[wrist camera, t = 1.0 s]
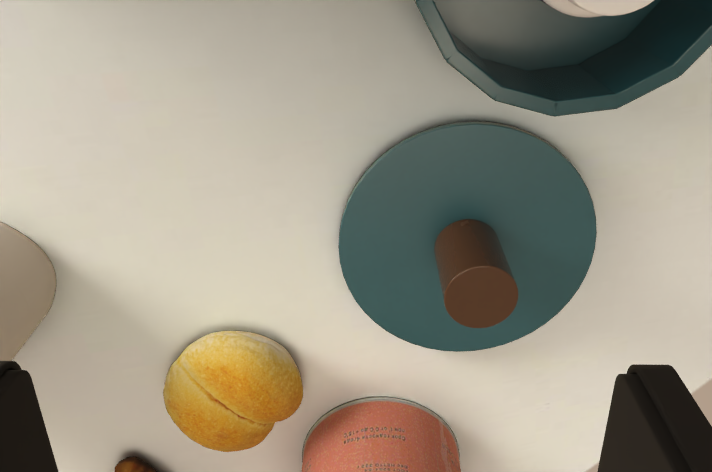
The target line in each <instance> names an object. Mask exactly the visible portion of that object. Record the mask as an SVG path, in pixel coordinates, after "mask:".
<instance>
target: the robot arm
mask: <svg viewBox="0 0 712 472" xmlns="http://www.w3.org/2000/svg"><path fill="white" fill-rule="evenodd" d="M0 472H58V469H57V466H56V462H55V459H54V455H53V452H52V448H51V445H50V441H49V438H48V434H47V431H46V427H45V424H44V420H43V417H42V413H41V410H40V407H39V403H38V400H37V396H36V393H35V389H34V386H33V382H32V379H31V376H30V374H29V373H28V372H27V371H26V370H21V368H20V366H19V365H18V364H17V363H16V362H14V361H0ZM598 472H712V427H711V425H710V423H709V422H708V420H707V419H706V417H705V416H704V414H703V413H702V411H701V410H700V408H699V406H698V405H697V403H696V402H695V400H694V399H693V397H692V395H691V394H690V392H689V391H688V389H687V388H686V386H685V384H684V383H683V381H682V380H681V378H680V377H679V375H678V374H677V372H676V371H675V369H674V368H673V367H672V366H670V365H631V366H630V367H629V369H628V371H627V374H619V375H618V376H617V377H616V381H615V385H614V390H613V395H612V401H611V406H610V411H609V416H608V421H607V426H606V431H605V437H604V442H603V447H602V452H601V457H600V462H599V468H598Z"/></svg>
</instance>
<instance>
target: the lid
mask: <svg viewBox="0 0 712 472" xmlns="http://www.w3.org/2000/svg"><path fill="white" fill-rule="evenodd" d="M595 242H596V216H595V211H594V206H593V202H592V199H591V197H590V194H589V191H588V188H587V187H586V185H585V183H584V181H583V179H582V178H581V176H580V174H579V173H578V172H577V171H576V169H575V168H574V167H573V165H572V164H571V163H570V162H569V160H568V159H567V158H566V157H565V156H564V155H562V154H561V153H560V152H559V151H558V150H557V149H556V148H555V147H553V146H552V145H550V144H549V143H547V142H546V141H544V140H543V139H541V138H539V137H537V136H535V135H533V134H531V133H529V132H527V131H524V130H521V129H518V128H515V127H512V126H508V125H503V124H498V123H491V122H460V123H453V124H448V125H442V126H438V127H435V128H432V129H429V130H425V131H422V132H420V133H418V134H416V135H414V136H411V137H409V138H407V139H405V140H404V141H402V142H400V143H399V144H397V145H396V146H394V147H392V148H391V149H390V150H388V151H387V152H386V153H385V154H383V155H382V156H381V157H380V158H378V159H377V160H376V161H375V162H374V163H373V164H372V166H371V167H370V168H369V169H368V170H367V171H366V172H365V173H364V175H363V176H362V177H361V179H360V180H359V182H358V183H357V184H356V186H355V188H354V190H353V192H352V193H351V195H350V197H349V199H348V202H347V204H346V207H345V210H344V213H343V216H342V221H341V226H340V233H339V256H340V263H341V268H342V272H343V276H344V278H345V281H346V283H347V286H348V288H349V290H350V292H351V293H352V295H353V297H354V299H355V300H356V302H357V303H358V304H359V306H360V307H361V308H362V309H363V311H364V312H365V313H366V314H367V315H368V316H369V317H370V318H371V319H372V320H373V321H374V322H375V323H377V324H378V325H379V326H381V327H382V328H383V329H385V330H386V331H388V332H389V333H391V334H393V335H395V336H397V337H398V338H400V339H403V340H405V341H407V342H410V343H412V344H415V345H419V346H422V347H426V348H430V349H436V350H442V351H475V350H482V349H488V348H492V347H496V346H500V345H504V344H506V343H509V342H512V341H514V340H517V339H519V338H521V337H523V336H525V335H527V334H529V333H531V332H533V331H535V330H536V329H538V328H539V327H541V326H542V325H544V324H545V323H547V322H548V321H549V320H550V319H551V318H553V317H554V316H555V315H556V314H558V313H559V312H560V310H561V309H562V308H563V307H564V306H565V305H566V304H567V303H568V302H569V301H570V299H571V298H572V297H573V296H574V294H575V293H576V292H577V290H578V289H579V287H580V285H581V283H582V282H583V280H584V278H585V276H586V274H587V271H588V269H589V266H590V264H591V261H592V257H593V253H594V249H595Z"/></svg>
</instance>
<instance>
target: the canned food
mask: <svg viewBox="0 0 712 472" xmlns="http://www.w3.org/2000/svg"><path fill="white" fill-rule="evenodd" d="M302 463H303V465H302V472H461V469H460V463H459V449H458V444H457V441H456V438H455V436H454V434H453V432H452V430H451V429H450V428H449V426H448V425H447V424H446V423H445V422H444V421H443V420H442V419H441V418H440V417H439V416H438V415H436V414H435V413H434V412H432V411H431V410H429V409H427V408H425V407H423V406H421V405H419V404H416V403H413V402H410V401H407V400H402V399H397V398H388V397H375V398H365V399H360V400H355V401H352V402H348V403H346V404H343V405H341V406H339V407H337V408H335V409H333V410H331V411H330V412H328V413H327V414H325V415H324V416H323V417H322V418H320V419H319V420H318V421H317V422H316V423H315V425H314V426H313V427H312V428H311V430H310V431H309V433H308V435H307V437H306V439H305V442H304V446H303V452H302Z"/></svg>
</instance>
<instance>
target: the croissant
mask: <svg viewBox="0 0 712 472" xmlns="http://www.w3.org/2000/svg"><path fill="white" fill-rule="evenodd" d="M115 472H157V471H156V470H155V469H154V468H153V467H151V466H150V465H148V464H147V463H145V462H143V461H142V460H140V459H139V458H137V457H127V458H125V459H123V460H121V461H120V462H119V463H118V464H117V465H116V467H115Z"/></svg>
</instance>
